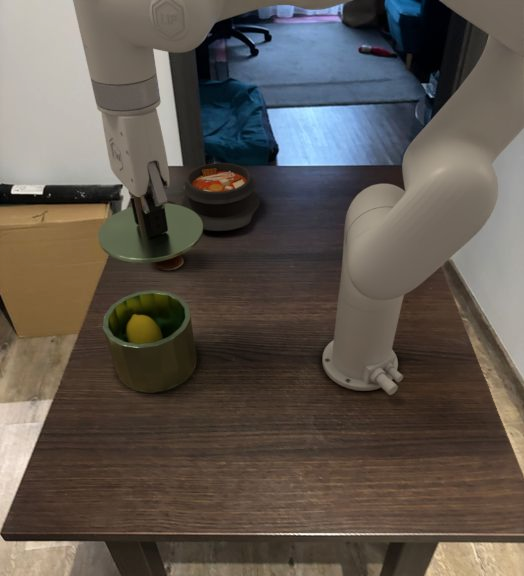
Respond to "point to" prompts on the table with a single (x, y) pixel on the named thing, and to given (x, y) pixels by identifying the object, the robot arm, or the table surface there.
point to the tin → (158, 355)
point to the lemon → (142, 330)
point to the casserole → (221, 196)
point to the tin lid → (141, 249)
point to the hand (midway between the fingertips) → (151, 226)
